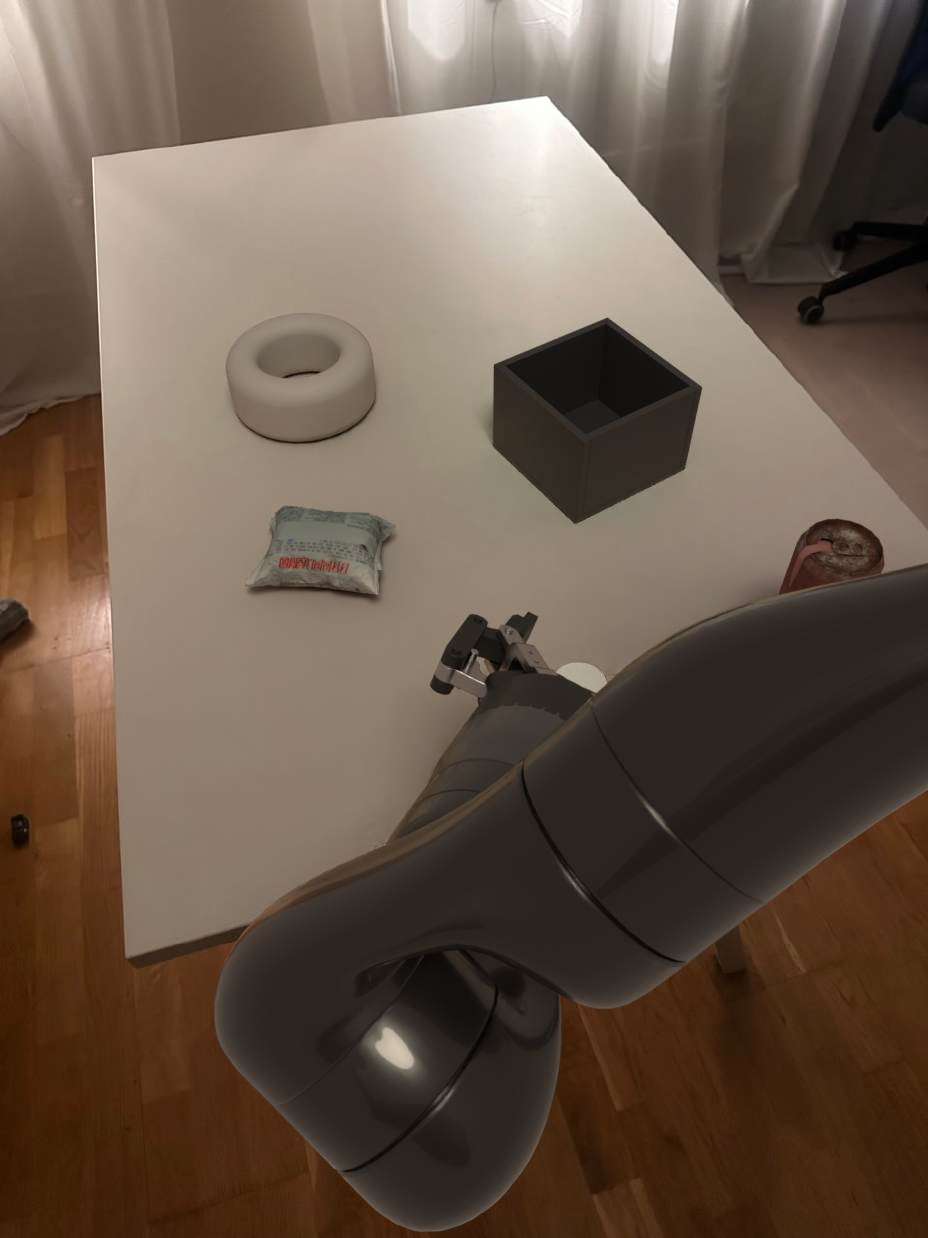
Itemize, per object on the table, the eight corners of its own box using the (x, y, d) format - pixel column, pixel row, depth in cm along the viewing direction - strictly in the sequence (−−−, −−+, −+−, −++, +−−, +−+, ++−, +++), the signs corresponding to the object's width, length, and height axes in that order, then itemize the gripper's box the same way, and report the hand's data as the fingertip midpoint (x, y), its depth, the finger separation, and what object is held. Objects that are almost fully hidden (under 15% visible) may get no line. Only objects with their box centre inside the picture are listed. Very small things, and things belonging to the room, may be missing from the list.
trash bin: (598, 398, 101) (607, 316, 94) (685, 469, 94) (702, 386, 86) (492, 446, 97) (493, 364, 89) (575, 524, 89) (583, 442, 82)
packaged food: (380, 612, 83) (375, 572, 79) (247, 600, 84) (236, 560, 80) (398, 541, 88) (394, 501, 85) (273, 531, 89) (264, 491, 86)
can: (739, 647, 80) (780, 527, 69) (805, 626, 81) (855, 505, 70) (780, 703, 76) (829, 586, 65) (848, 680, 77) (907, 561, 67)
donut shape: (207, 424, 100) (192, 370, 94) (283, 346, 108) (273, 293, 103) (332, 463, 95) (323, 408, 90) (401, 379, 104) (397, 325, 99)
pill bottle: (608, 770, 72) (620, 707, 66) (547, 778, 72) (553, 715, 66) (594, 718, 75) (604, 653, 69) (535, 726, 75) (540, 661, 69)
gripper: (703, 795, 41) (726, 661, 56) (414, 645, 43) (509, 553, 58) (627, 918, 44) (668, 760, 59) (362, 772, 46) (464, 655, 61)
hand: (589, 658), depth 58 cm, fingers open, 8 cm apart
